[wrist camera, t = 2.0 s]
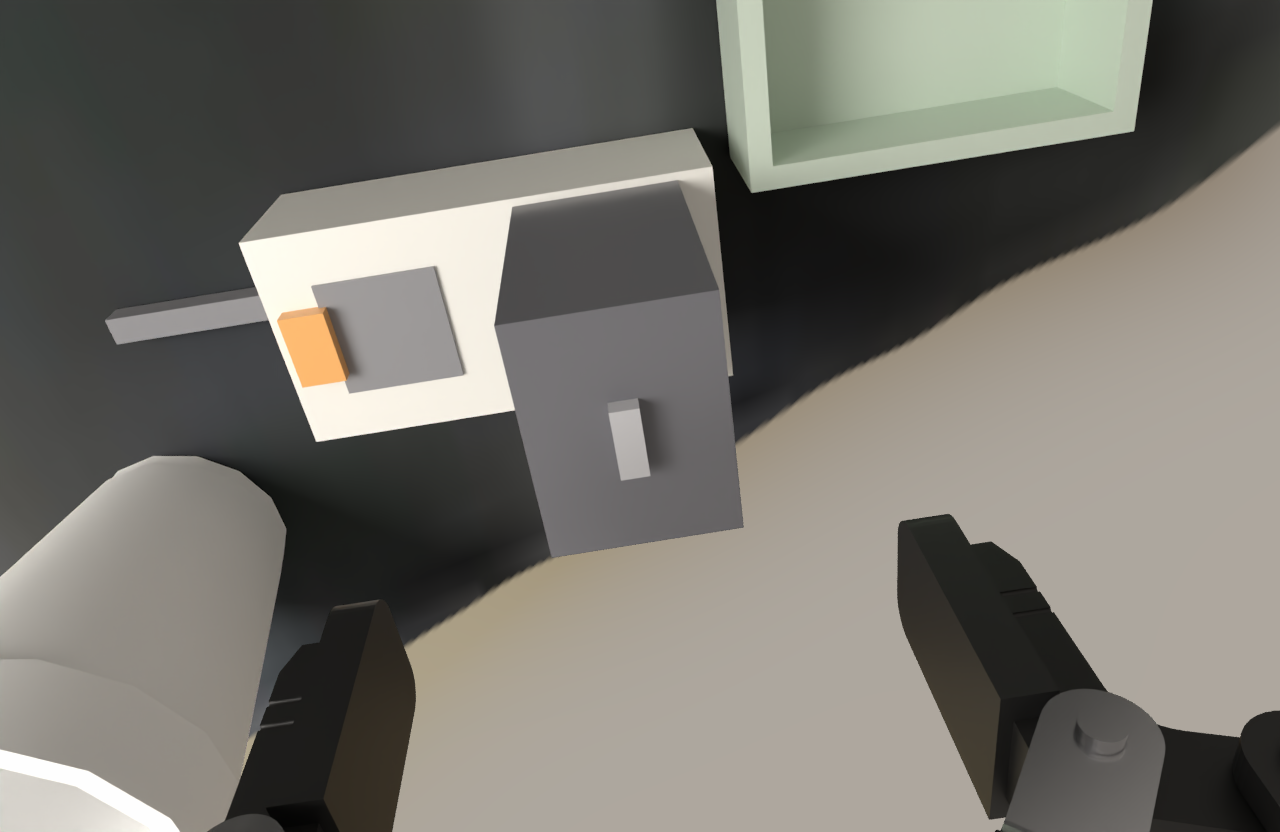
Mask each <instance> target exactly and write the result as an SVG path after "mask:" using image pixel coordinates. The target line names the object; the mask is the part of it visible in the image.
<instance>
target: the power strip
mask: <svg viewBox="0 0 1280 832" xmlns="http://www.w3.org/2000/svg"><path fill="white" fill-rule="evenodd" d="M675 180H678V182H679V185H680V188H681V190H682V193H683V195H684V198H685V201H686V203H687V206H688V209H689V211H690V214H691V217H692V219H693V222H694V224H695V227H696V230H697V232H698V235H699V238H700V240H701V243H702V245H703V248H704V251H705V253H706V256H707V259H708V261H709V264H710V267H711V269H712V272H713V274H714V277H715V280H716V282H717V285H718V288H719V292H720V301H721V311H722V321H723V331H724V340H725V350H726V360H727V370H728V376H733V370H732V359H731V349H730V339H729V329H728V319H727V309H726V299H725V289H724V279H723V268H722V258H721V248H720V238H719V228H718V218H717V208H716V198H715V188H714V177H713V167H712V165H711V163H710V161H709V159H708V157H707V155H706V153H705V151H704V149H703V147H702V145H701V143H700V141H699V140H698V138H697V136H696V134H695V132H694V130H693V128H690V129H684V130H677V131H671V132H665V133H659V134H653V135H647V136H640V137H634V138H628V139H622V140H616V141H610V142H603V143H597V144H591V145H585V146H579V147H573V148H566V149H560V150H554V151H548V152H542V153H536V154H529V155H523V156H517V157H511V158H505V159H499V160H492V161H486V162H480V163H474V164H468V165H462V166H455V167H449V168H443V169H437V170H431V171H425V172H418V173H412V174H406V175H400V176H394V177H388V178H381V179H375V180H369V181H363V182H357V183H351V184H344V185H338V186H332V187H326V188H320V189H314V190H307V191H301V192H295V193H289V194H283V195H281V196H280V197H279V198H278V199H277V200H276V201H275V202H274V204H273V205H272V206H271V207H270V208H269V209H268V210H267V211H266V213H265V214H264V215H263V216H262V217H261V218H260V219H259V221H258V222H257V223H256V224H255V225H254V226H253V227H252V228H251V230H250V231H249V232H248V233H247V234H246V235H245V236H244V237H243V239H242V240H241V241H240V242H239V245H240V248H241V250H242V253H243V256H244V258H245V261H246V263H247V266H248V268H249V271H250V273H251V276H252V279H253V281H254V284H255V286H256V287H252V288H246V289H240V290H234V291H227V292H221V293H215V294H209V295H203V296H196V297H190V298H184V299H178V300H172V301H165V302H159V303H153V304H147V305H141V306H134V307H128V308H122V309H116V310H115V311H114V312H113V313H112V314H111V315H110V316H109V317H108V318H107V319H106V320H105V321H106V323H107V326H108V328H109V330H110V332H111V334H112V336H113V338H114V340H115V342H116V344H123V343H129V342H135V341H141V340H147V339H154V338H160V337H166V336H172V335H179V334H185V333H191V332H197V331H203V330H210V329H216V328H222V327H228V326H234V325H241V324H247V323H253V322H259V321H266V320H269V322H270V324H271V327H272V330H273V332H274V335H275V337H276V340H277V342H278V345H279V347H280V350H281V353H282V355H283V358H284V360H285V363H286V365H287V368H288V370H289V373H290V376H291V378H292V381H293V383H294V386H295V388H296V391H297V393H298V396H299V399H300V401H301V404H302V406H303V409H304V411H305V414H306V416H307V419H308V422H309V424H310V427H311V429H312V432H313V434H314V437H315V439H316V442H319V441H325V440H331V439H338V438H344V437H350V436H357V435H363V434H369V433H375V432H382V431H388V430H394V429H400V428H407V427H413V426H419V425H426V424H432V423H438V422H444V421H451V420H457V419H463V418H469V417H476V416H482V415H488V414H494V413H501V412H507V411H513V410H515V408H514V404H513V400H512V396H511V392H510V388H509V384H508V380H507V376H506V372H505V368H504V364H503V360H502V356H501V352H500V348H499V344H498V340H497V336H496V332H495V328H494V323H495V317H496V310H497V303H498V297H499V290H500V284H501V277H502V271H503V264H504V257H505V251H506V244H507V238H508V231H509V224H510V218H511V211H512V207H514V206H520V205H526V204H533V203H539V202H545V201H551V200H557V199H564V198H570V197H576V196H582V195H588V194H594V193H601V192H607V191H613V190H619V189H625V188H632V187H638V186H644V185H650V184H656V183H663V182H669V181H675Z"/></svg>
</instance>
